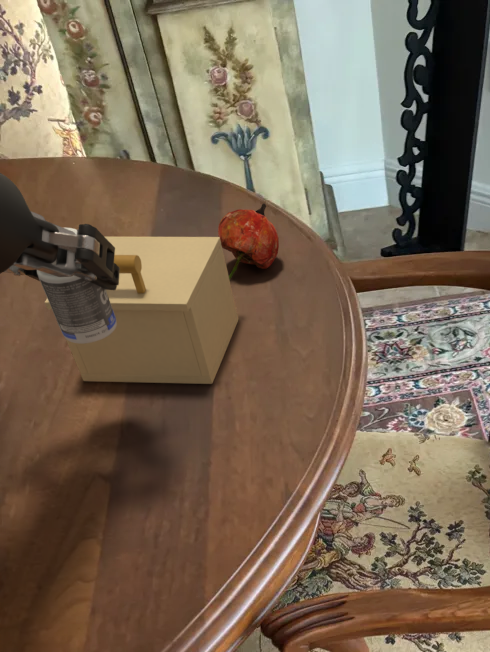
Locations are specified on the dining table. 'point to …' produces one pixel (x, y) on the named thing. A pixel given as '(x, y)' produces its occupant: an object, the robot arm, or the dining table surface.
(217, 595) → the dining table surface
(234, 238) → the pomegranate
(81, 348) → the chest
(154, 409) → the dining table surface
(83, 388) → the dining table surface
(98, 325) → the pill bottle
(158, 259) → the chest lid
